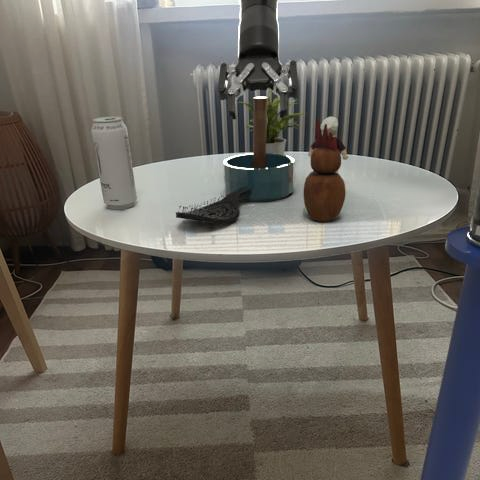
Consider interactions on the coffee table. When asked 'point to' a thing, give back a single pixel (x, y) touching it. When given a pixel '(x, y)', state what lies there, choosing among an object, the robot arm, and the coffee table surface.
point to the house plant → (274, 125)
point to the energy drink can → (114, 162)
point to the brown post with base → (259, 132)
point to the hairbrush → (217, 209)
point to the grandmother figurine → (332, 127)
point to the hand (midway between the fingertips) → (257, 115)
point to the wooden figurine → (324, 179)
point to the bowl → (260, 177)
